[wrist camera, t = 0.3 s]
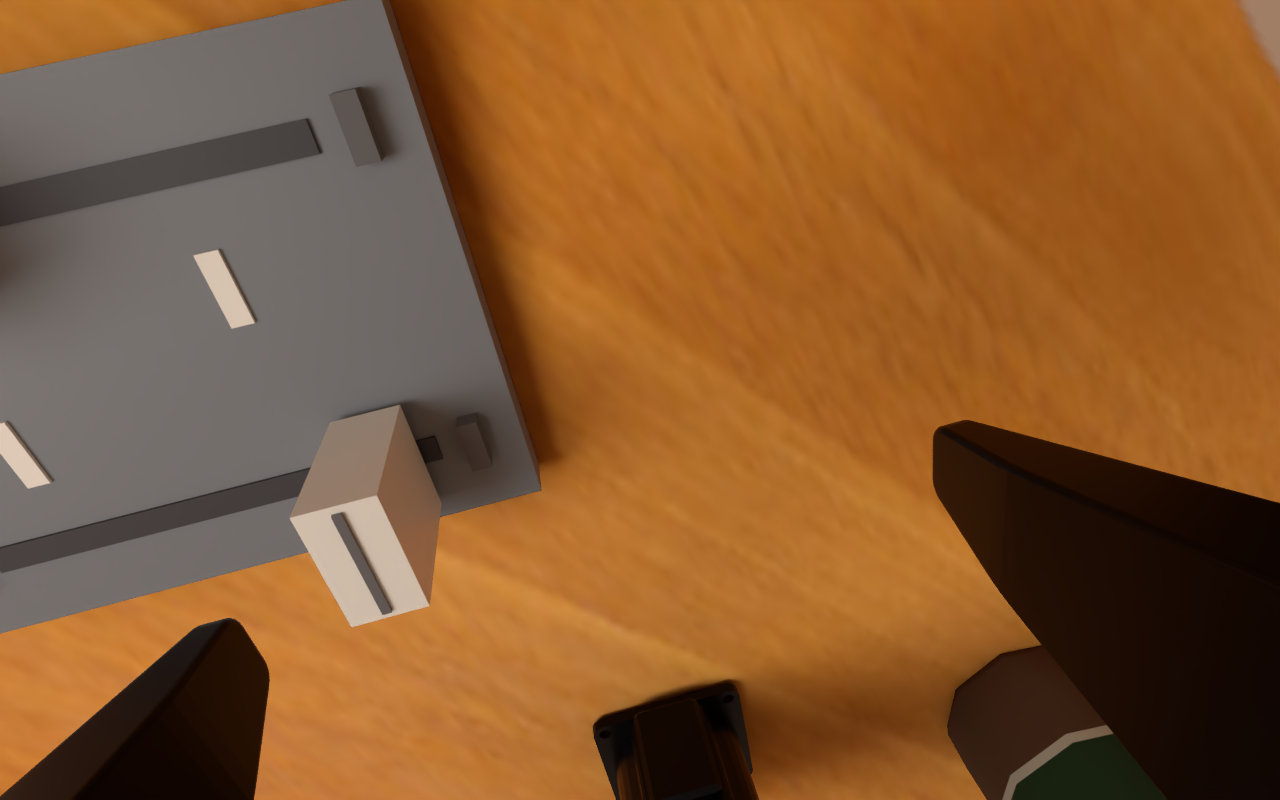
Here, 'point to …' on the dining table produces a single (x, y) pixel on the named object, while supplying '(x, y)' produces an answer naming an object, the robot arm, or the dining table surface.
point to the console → (226, 303)
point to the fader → (371, 516)
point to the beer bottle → (1039, 736)
